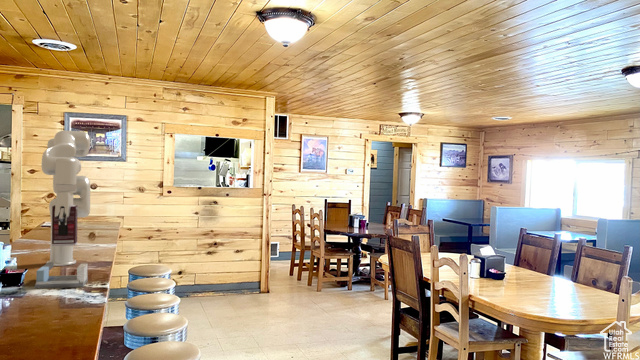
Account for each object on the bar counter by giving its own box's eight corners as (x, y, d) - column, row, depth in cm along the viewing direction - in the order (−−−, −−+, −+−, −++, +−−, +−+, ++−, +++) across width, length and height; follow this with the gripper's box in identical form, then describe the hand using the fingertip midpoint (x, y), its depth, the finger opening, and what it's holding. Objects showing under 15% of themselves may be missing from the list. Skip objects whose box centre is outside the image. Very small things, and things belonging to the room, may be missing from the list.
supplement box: (77, 243, 195) (78, 205, 194) (75, 245, 190) (76, 206, 190) (53, 244, 192) (54, 204, 191) (51, 246, 187) (51, 206, 187)
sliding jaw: (47, 274, 201) (47, 262, 201) (53, 273, 202) (54, 262, 201) (36, 283, 185) (36, 270, 185) (43, 283, 186) (43, 270, 186)
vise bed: (41, 282, 194) (42, 263, 193) (87, 280, 199) (88, 262, 198) (34, 288, 184) (35, 269, 184) (83, 286, 189) (83, 268, 189)
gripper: (60, 187, 197) (59, 231, 198) (49, 189, 181) (48, 237, 182) (80, 187, 200) (79, 231, 200) (71, 190, 183) (70, 237, 184)
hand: (64, 233), depth 191 cm, fingers closed on supplement box, 4 cm apart
